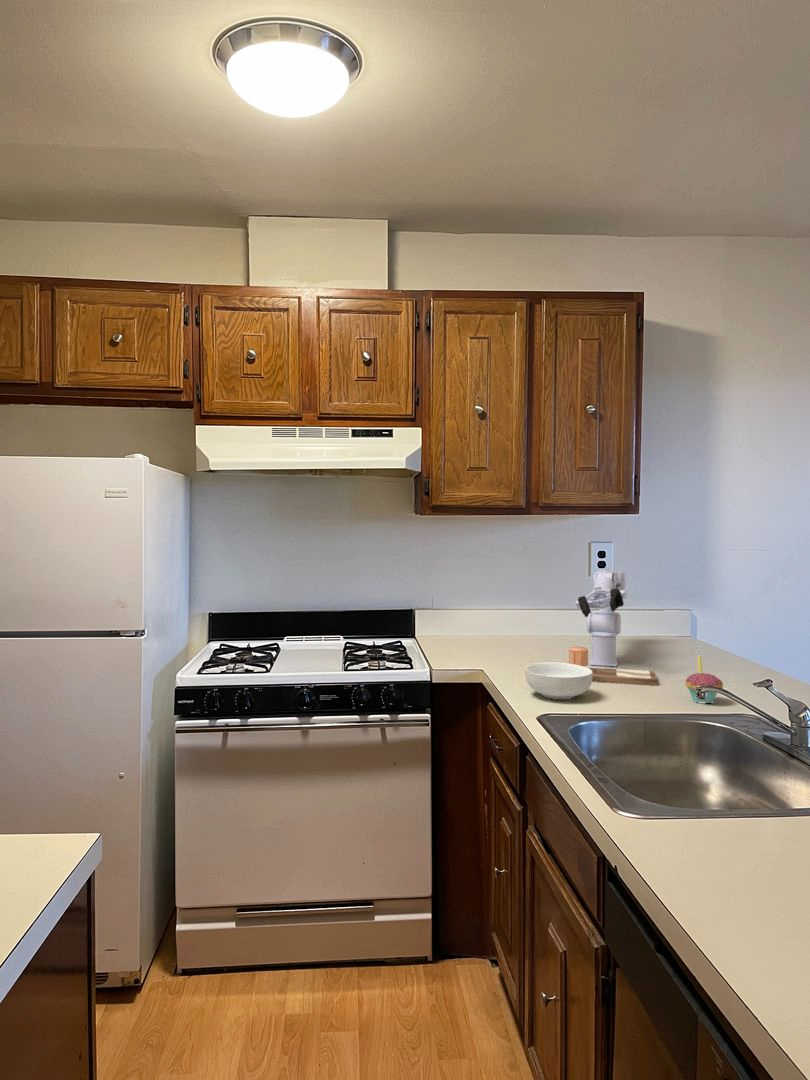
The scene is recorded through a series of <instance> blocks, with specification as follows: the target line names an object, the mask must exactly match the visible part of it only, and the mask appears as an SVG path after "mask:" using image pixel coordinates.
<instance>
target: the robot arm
mask: <svg viewBox="0 0 810 1080" xmlns="http://www.w3.org/2000/svg"><path fill="white" fill-rule="evenodd" d="M592 580H593V581H592V582H593V584H592V585H593V588H592V591H591V592H590V593H589V594H587V595H583V596H578V598H577V600H576V601H575V605H576V609H577V610H581V613H582V614H583V616H584V617H585V618H587V619H586V620H587V622H586V625H587V626H586V629H587V630H586V631H587V632H588V634H590V635H591V657H590V660H589V661H590V662H589V663H590V664H589V665H590V666H604V667H617V666H618V659H616V657H617V656H616V655H617V648H616V647H617V636H619V634H621V629H622V618H621V614H620V613H619V612H616V610H617V609H618V608H620V607H624V604H625V603H624V600H625V599H627V592H626V573H625V571H619V570H610V568H603V570H597V571H596V572H594V574H593V579H592ZM591 609H598V610H594V611H591Z"/></svg>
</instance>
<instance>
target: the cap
mask: <svg viewBox="0 0 810 1080" xmlns="http://www.w3.org/2000/svg"><path fill="white" fill-rule="evenodd" d="M568 650H569V651H568V664H574V665H579V666H583V667H587V666H589V665H588V664H589V648H587V647H584V646H571V647H569V648H568Z"/></svg>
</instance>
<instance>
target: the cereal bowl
mask: <svg viewBox="0 0 810 1080" xmlns="http://www.w3.org/2000/svg"><path fill="white" fill-rule="evenodd" d="M589 668H590V667H587V666H579V665H574V664H569V662H567V663H565V662H557V661H556V662H553V661H551V662H546V661H545V662H537V663H536V662H535V663H532V664H528V665H527V666H526V667H525V678H526V682H527V684H528V686H529V688H531V689H532V690H533V691H535V692H536V693H538V694H541V695H542V696H543V697H544V698H546V697H547V699H550V698H552V699H551V700H556V699H567V700H570V699H569V698H572V699H574V698H575V697H578V696H581V695H582V694H584V693H586V692H587V691H588V690H589V689H590V687H591V686H592V683H593V682H592V677H593V672H592V670H590V669H589Z"/></svg>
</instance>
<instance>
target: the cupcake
mask: <svg viewBox="0 0 810 1080" xmlns="http://www.w3.org/2000/svg"><path fill="white" fill-rule="evenodd" d="M697 653H698V654H697V663H698V672H696V673H693V674H690V675H689V676H687V678H686V679H685V686H686V688H687V689H688V690H689V693H690V696H691V699H692V701H693V702H694V701H696V702H705V703H712V702H713V703H714V702H715V699H716V697H717V694H718V692H714V691H708V692H707V696H706V699H705V700H701V699H697V697H696V687H697V686H699V685H700V686H714V687H718V688H722V689H723V688H724V683H723V681H722V680H721V679H719V677H717V676H715V675H714V674H711V673H704V672H703V669H702V668H703V667H702V658H701V656H702V655H700V653H699V652H697ZM696 702H695V703H696ZM713 703H712V704H713Z"/></svg>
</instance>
